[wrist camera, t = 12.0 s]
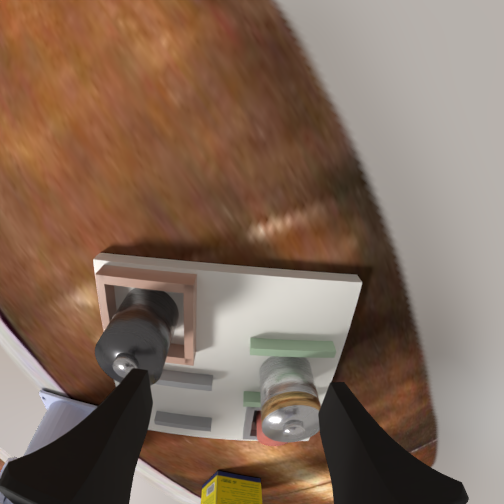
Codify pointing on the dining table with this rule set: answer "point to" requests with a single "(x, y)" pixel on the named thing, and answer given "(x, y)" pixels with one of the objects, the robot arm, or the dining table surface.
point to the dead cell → (138, 335)
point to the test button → (260, 434)
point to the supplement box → (231, 489)
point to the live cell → (288, 399)
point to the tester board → (231, 334)
